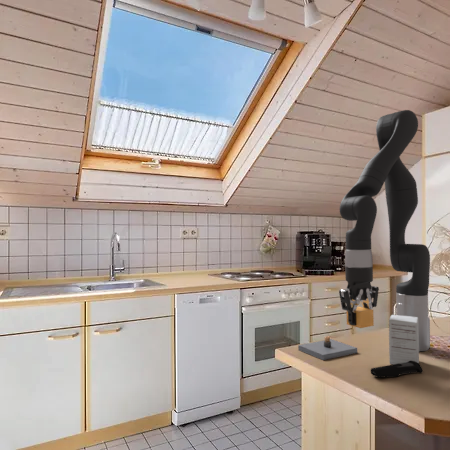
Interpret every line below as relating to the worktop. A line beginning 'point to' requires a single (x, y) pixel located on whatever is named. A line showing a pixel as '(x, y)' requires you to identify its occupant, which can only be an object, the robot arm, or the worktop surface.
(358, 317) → the orange rounded cube
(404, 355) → the supplement box
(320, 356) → the plate
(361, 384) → the worktop surface
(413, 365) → the electric trimmer
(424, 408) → the worktop surface
